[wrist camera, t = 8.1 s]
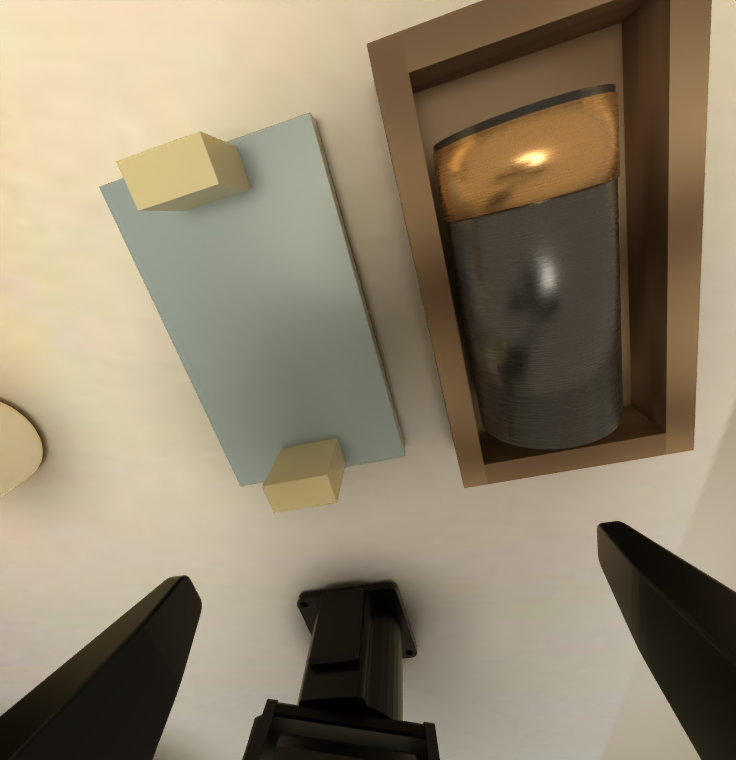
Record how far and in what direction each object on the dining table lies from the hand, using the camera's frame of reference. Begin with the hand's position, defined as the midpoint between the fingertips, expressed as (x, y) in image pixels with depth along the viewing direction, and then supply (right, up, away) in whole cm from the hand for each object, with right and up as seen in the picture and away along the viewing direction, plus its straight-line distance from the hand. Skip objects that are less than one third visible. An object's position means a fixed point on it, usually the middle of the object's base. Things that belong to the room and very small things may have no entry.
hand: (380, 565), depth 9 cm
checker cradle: (-5, +6, +10) cm, 13 cm away
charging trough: (+6, +9, +8) cm, 14 cm away
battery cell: (+6, +8, +7) cm, 13 cm away
